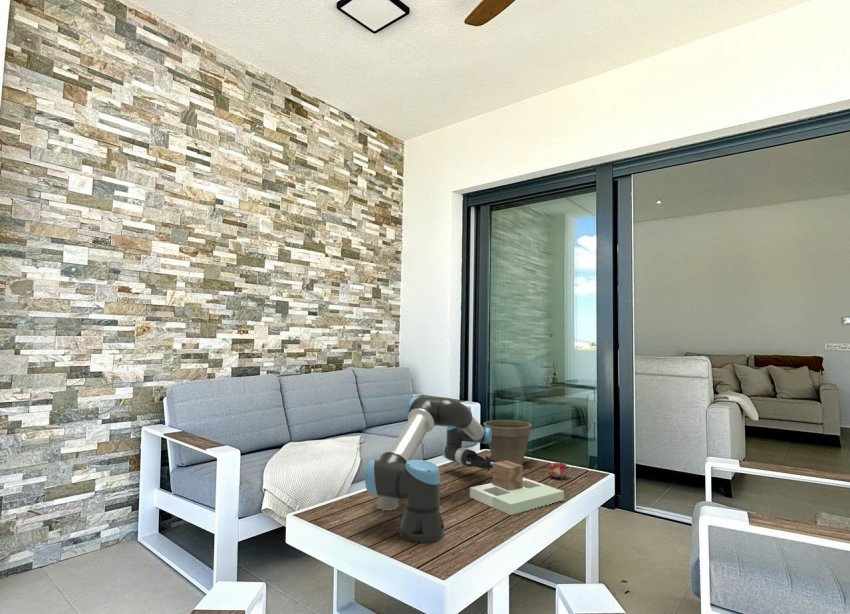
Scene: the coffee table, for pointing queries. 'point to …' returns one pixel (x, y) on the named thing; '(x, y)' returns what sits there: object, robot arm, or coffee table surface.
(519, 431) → the plant pot
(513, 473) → the walnut block
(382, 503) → the glass holder
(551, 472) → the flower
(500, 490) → the box
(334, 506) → the coffee table surface
